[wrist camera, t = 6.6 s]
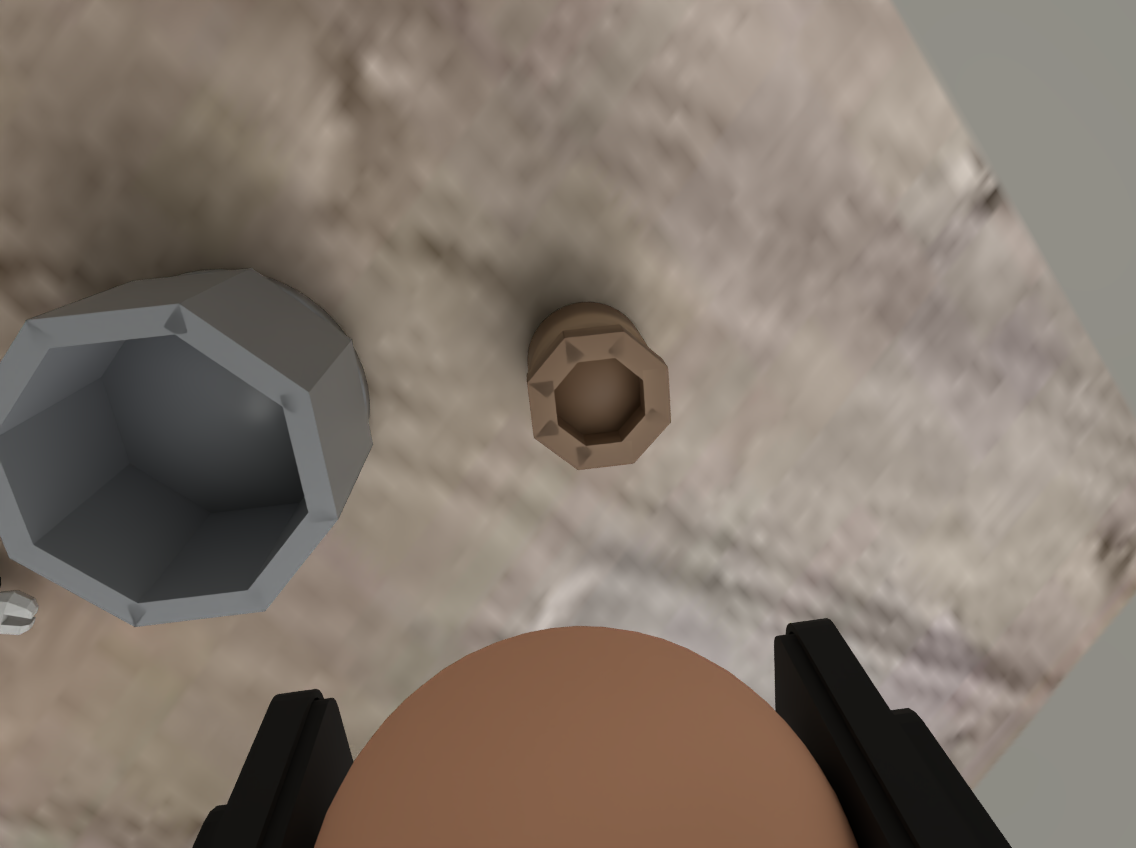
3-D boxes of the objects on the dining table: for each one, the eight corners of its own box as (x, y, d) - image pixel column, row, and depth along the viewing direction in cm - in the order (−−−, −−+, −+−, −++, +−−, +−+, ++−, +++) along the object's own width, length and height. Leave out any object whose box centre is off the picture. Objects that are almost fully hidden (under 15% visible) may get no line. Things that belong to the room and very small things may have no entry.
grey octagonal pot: (64, 284, 27) (-84, 332, 20) (341, 254, 27) (286, 291, 20) (145, 529, 30) (41, 638, 23) (390, 500, 30) (356, 600, 24)
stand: (520, 308, 28) (522, 342, 23) (640, 295, 28) (665, 326, 23) (534, 421, 29) (538, 474, 25) (648, 408, 30) (672, 459, 25)
